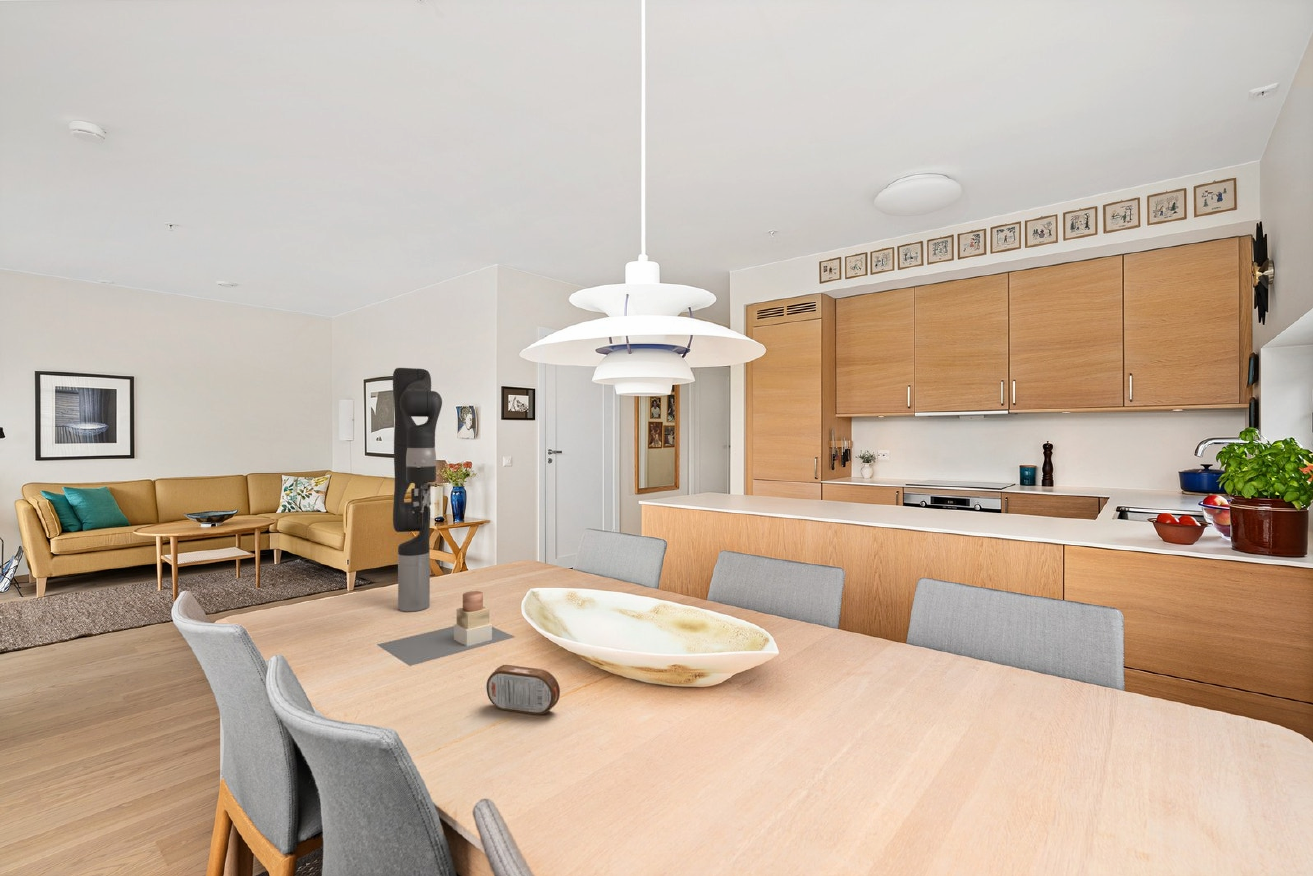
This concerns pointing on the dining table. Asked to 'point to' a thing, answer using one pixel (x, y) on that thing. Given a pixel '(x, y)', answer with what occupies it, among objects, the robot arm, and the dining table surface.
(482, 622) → the tower top block
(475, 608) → the terracotta cylinder
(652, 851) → the dining table surface
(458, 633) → the tower base block
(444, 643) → the mat
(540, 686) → the tin
